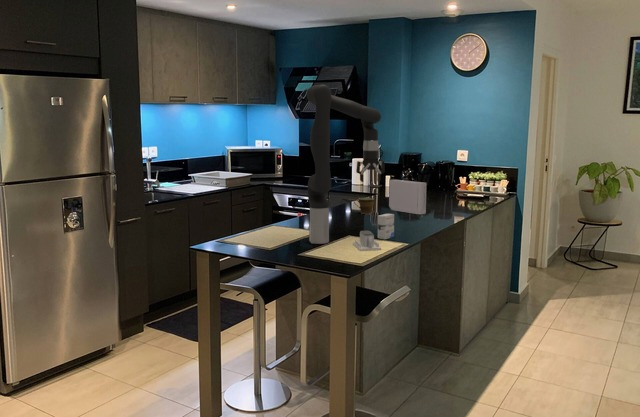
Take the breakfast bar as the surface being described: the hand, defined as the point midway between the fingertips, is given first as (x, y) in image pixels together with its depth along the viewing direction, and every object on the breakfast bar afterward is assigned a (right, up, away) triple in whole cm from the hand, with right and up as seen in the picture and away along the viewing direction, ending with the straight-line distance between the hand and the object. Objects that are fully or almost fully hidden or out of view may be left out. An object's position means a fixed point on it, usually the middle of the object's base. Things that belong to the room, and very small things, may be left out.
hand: (370, 181), depth 289 cm
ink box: (+8, -29, +1) cm, 30 cm away
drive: (-4, -31, -22) cm, 38 cm away
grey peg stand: (-4, -32, -21) cm, 38 cm away
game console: (+31, -16, +84) cm, 91 cm away
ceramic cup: (+2, -17, +74) cm, 76 cm away
